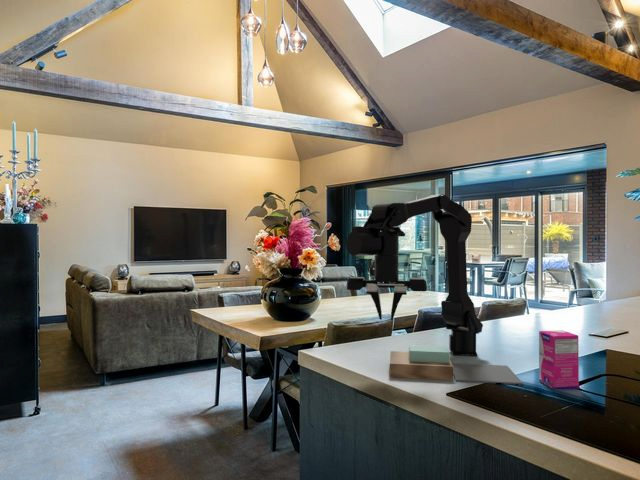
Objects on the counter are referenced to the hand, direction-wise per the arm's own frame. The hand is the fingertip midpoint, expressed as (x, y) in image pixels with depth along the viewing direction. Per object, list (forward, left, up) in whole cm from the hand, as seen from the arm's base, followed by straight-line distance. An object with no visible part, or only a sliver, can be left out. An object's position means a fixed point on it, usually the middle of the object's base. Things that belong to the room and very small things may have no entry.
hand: (386, 319), depth 111 cm
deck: (-8, 0, -12) cm, 14 cm away
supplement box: (-37, +6, -12) cm, 39 cm away
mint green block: (-10, 0, -8) cm, 13 cm away
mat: (-22, 0, -12) cm, 26 cm away
